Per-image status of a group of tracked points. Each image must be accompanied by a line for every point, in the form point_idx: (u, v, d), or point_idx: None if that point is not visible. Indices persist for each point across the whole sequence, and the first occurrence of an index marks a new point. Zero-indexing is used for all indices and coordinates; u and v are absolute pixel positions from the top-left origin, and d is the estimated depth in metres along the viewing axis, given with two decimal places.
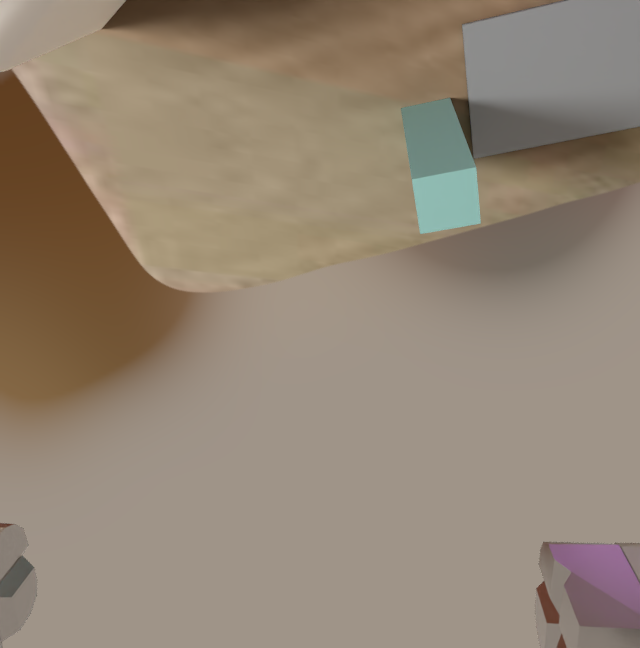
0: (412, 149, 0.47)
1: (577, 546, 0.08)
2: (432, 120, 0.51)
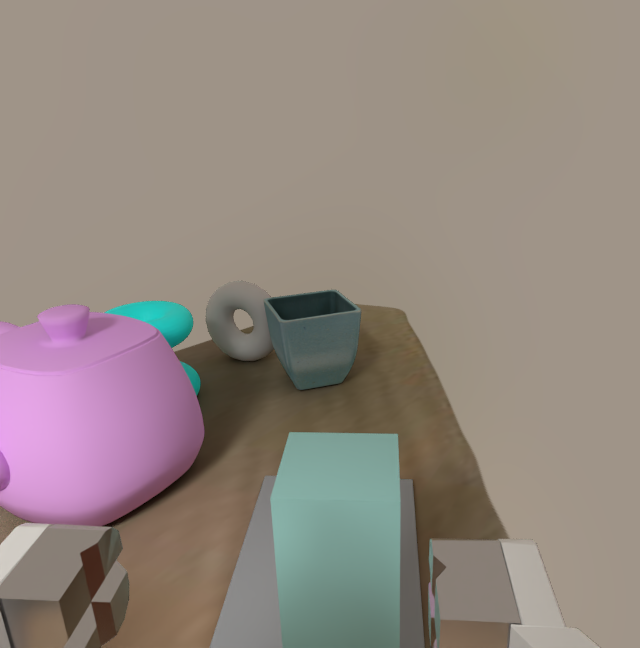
0: None
1: (458, 542, 0.08)
2: None
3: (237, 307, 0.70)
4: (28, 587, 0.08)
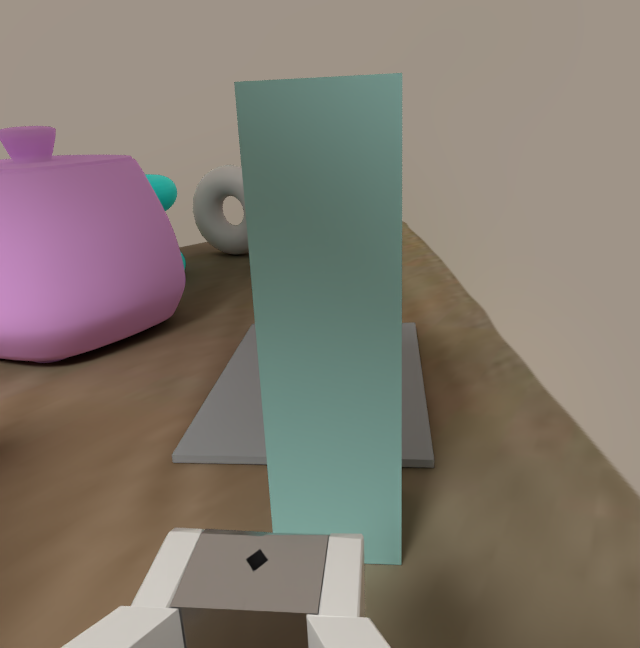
0: None
1: (288, 536, 0.09)
2: None
3: (226, 192, 0.66)
4: (205, 595, 0.08)
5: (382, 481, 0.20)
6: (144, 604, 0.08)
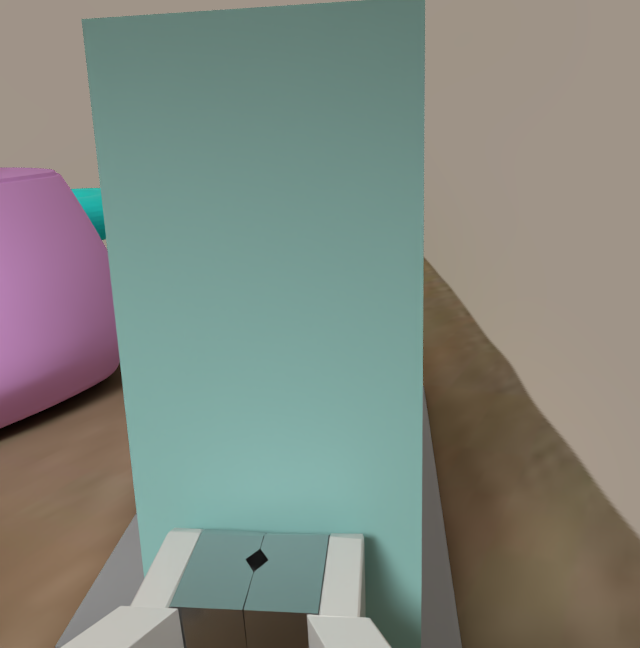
0: None
1: (289, 536, 0.09)
2: None
3: None
4: (204, 595, 0.08)
5: None
6: (144, 604, 0.08)
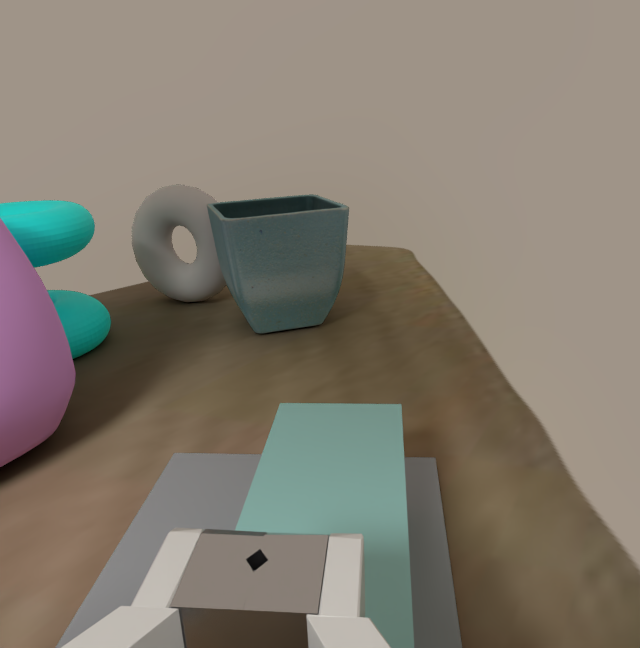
0: None
1: (288, 536, 0.09)
2: None
3: (173, 222, 0.49)
4: (205, 595, 0.08)
5: None
6: (144, 604, 0.08)
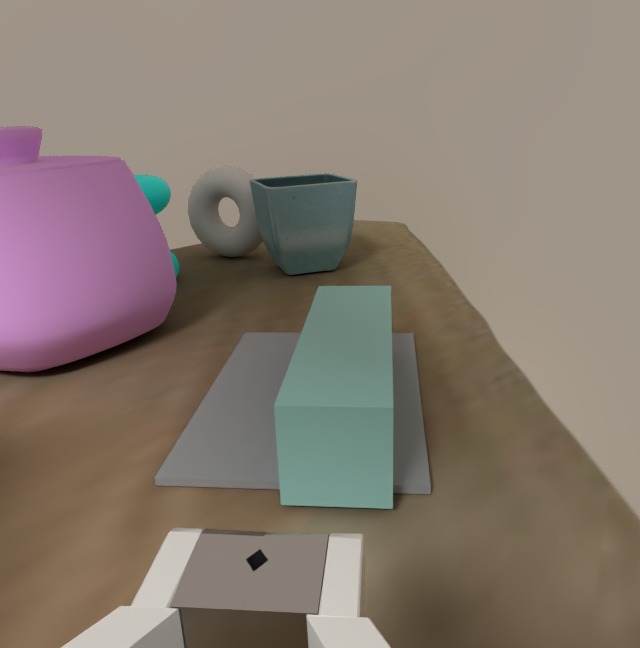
0: None
1: (288, 536, 0.09)
2: None
3: (222, 194, 0.64)
4: (205, 595, 0.08)
5: (377, 369, 0.26)
6: (144, 604, 0.08)
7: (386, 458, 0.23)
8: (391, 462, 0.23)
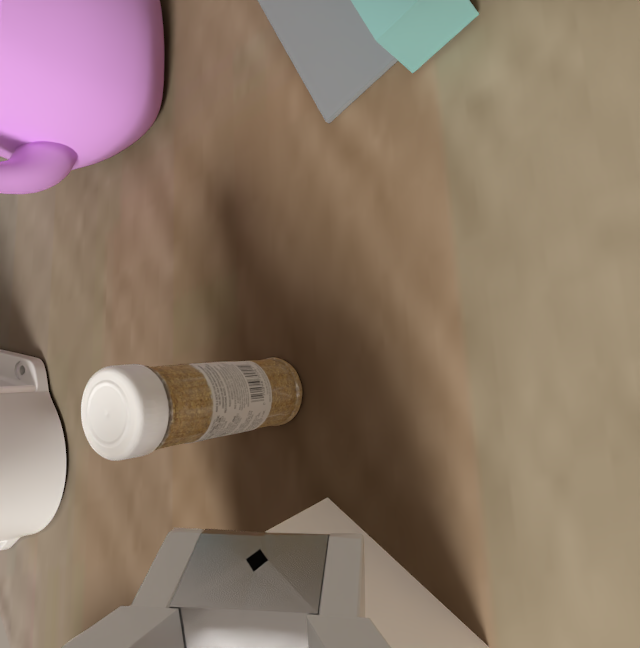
0: None
1: (288, 536, 0.09)
2: None
3: None
4: (205, 595, 0.08)
5: None
6: (144, 604, 0.08)
7: None
8: None
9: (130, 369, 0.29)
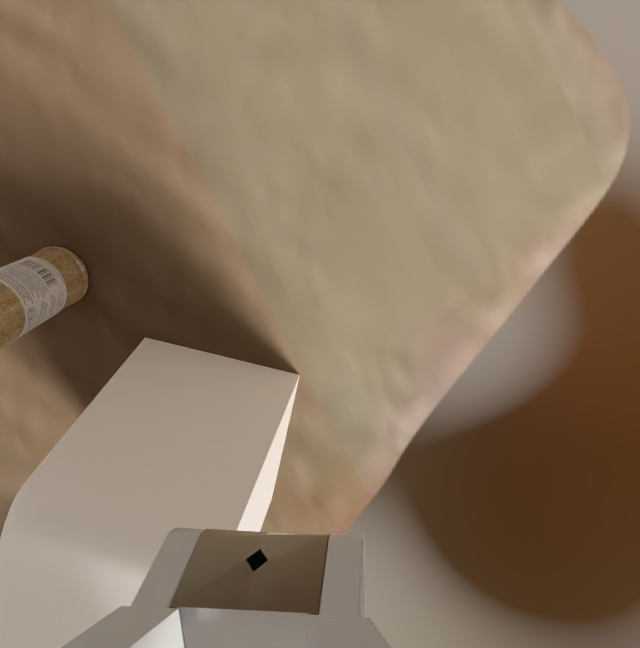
0: None
1: (288, 536, 0.09)
2: None
3: None
4: (205, 595, 0.08)
5: None
6: (144, 604, 0.08)
7: None
8: None
9: None
